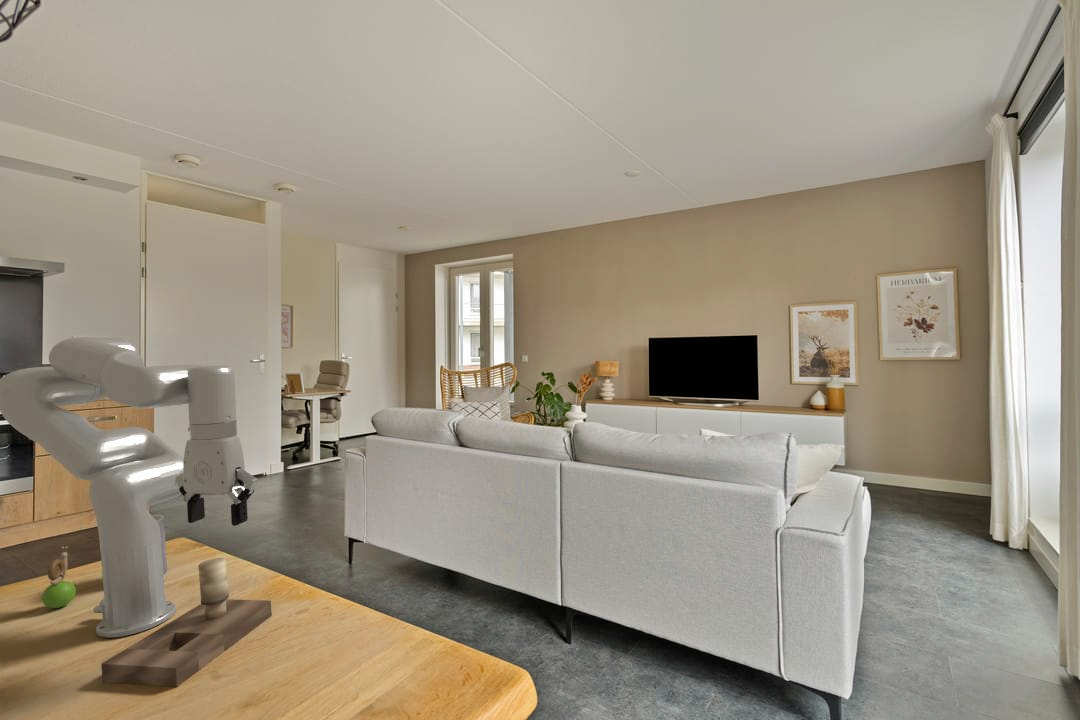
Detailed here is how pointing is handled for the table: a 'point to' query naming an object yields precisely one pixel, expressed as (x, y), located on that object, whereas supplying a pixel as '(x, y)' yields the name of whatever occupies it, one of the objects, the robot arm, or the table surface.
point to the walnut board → (184, 645)
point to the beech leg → (213, 587)
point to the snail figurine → (58, 584)
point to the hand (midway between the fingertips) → (217, 521)
